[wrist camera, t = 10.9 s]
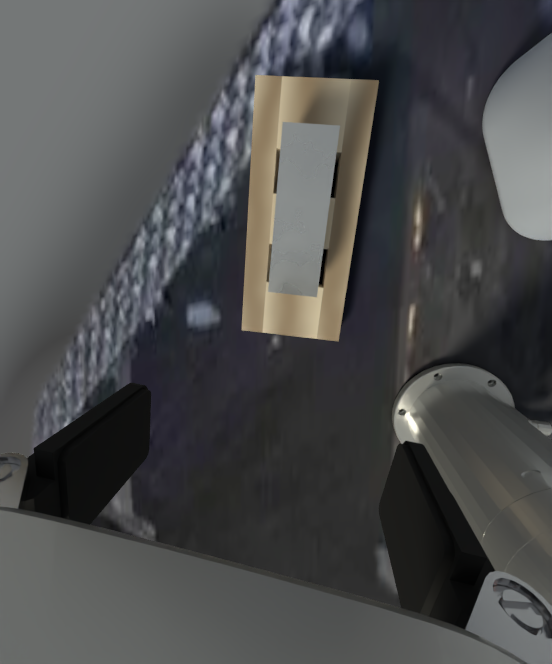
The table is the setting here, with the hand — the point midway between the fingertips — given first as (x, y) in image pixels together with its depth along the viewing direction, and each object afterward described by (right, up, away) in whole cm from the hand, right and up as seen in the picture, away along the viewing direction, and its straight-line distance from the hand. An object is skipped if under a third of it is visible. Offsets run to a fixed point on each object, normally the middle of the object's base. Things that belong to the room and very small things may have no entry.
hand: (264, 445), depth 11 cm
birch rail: (+3, +15, +19) cm, 24 cm away
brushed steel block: (+3, +15, +19) cm, 24 cm away
